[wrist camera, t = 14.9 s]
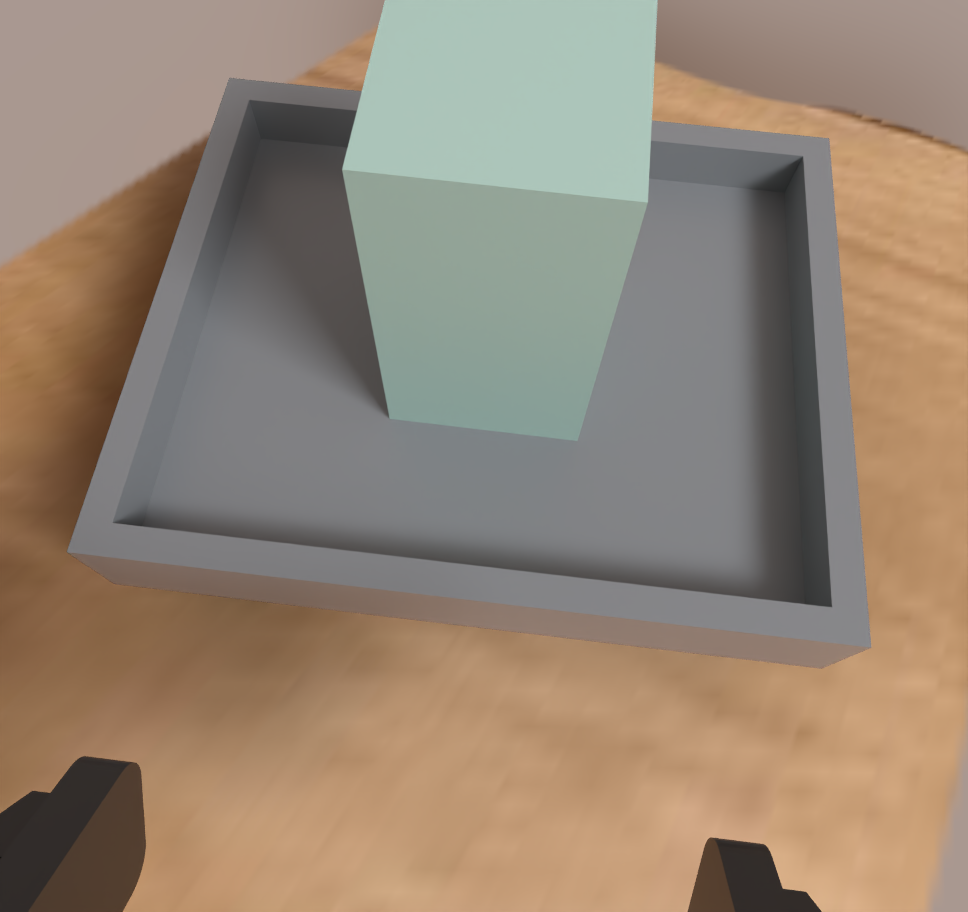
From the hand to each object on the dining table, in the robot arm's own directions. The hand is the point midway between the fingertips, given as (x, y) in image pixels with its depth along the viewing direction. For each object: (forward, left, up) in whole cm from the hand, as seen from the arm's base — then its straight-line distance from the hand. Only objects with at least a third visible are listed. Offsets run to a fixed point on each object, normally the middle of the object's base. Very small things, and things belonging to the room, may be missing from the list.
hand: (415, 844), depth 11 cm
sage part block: (0, +12, -7) cm, 14 cm away
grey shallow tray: (0, +12, -11) cm, 16 cm away
